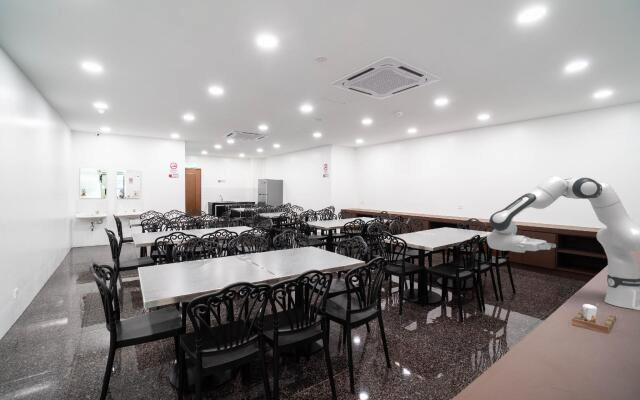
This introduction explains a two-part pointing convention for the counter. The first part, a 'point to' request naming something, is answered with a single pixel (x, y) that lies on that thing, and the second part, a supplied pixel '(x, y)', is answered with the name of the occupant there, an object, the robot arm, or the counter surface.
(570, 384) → the counter surface
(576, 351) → the counter surface
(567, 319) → the counter surface
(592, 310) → the milkshake
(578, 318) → the rail guide
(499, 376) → the counter surface
